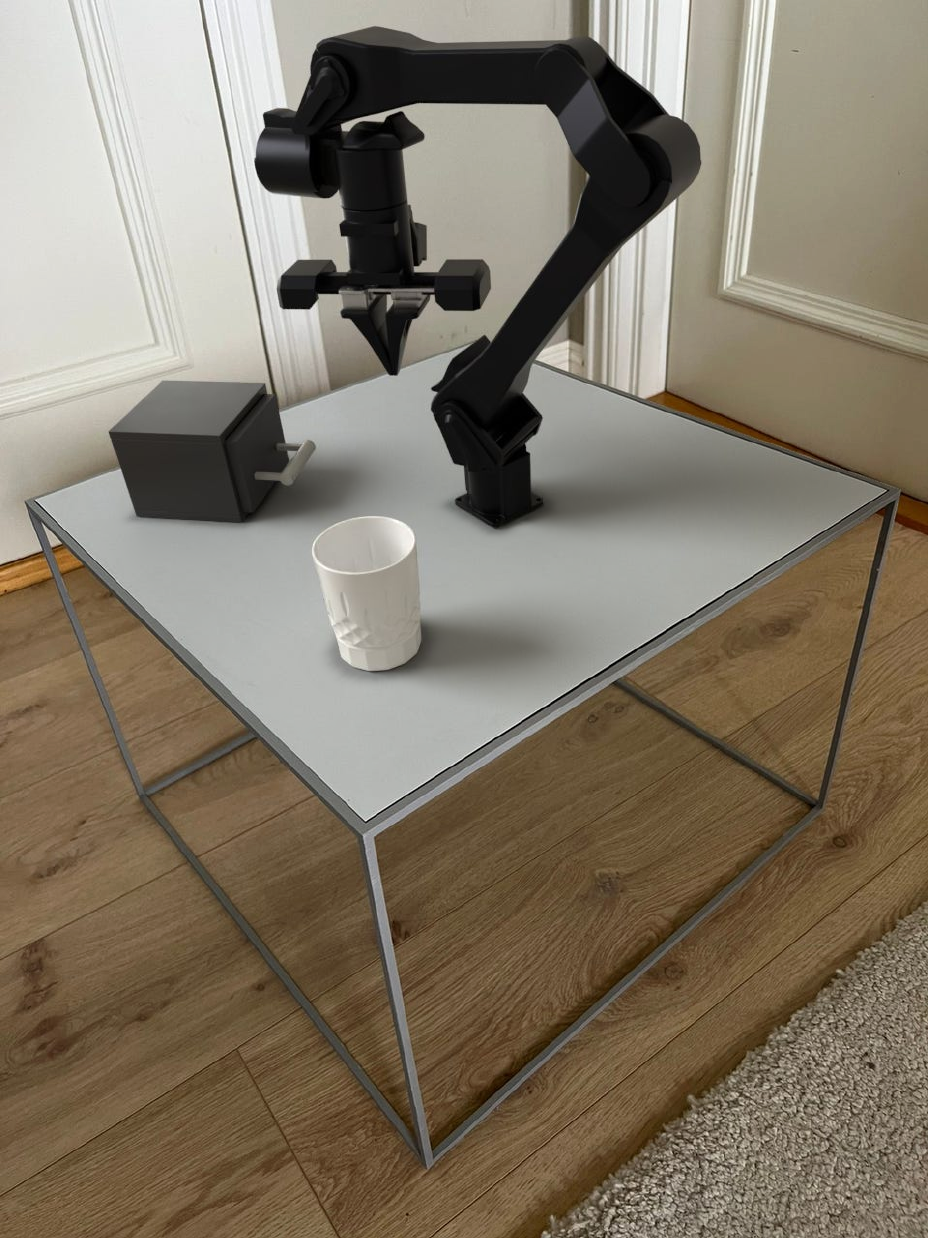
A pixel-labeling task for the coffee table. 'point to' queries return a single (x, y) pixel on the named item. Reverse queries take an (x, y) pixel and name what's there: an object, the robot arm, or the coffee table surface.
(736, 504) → the coffee table surface
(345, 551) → the white cup
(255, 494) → the drawer
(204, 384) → the cabinet
